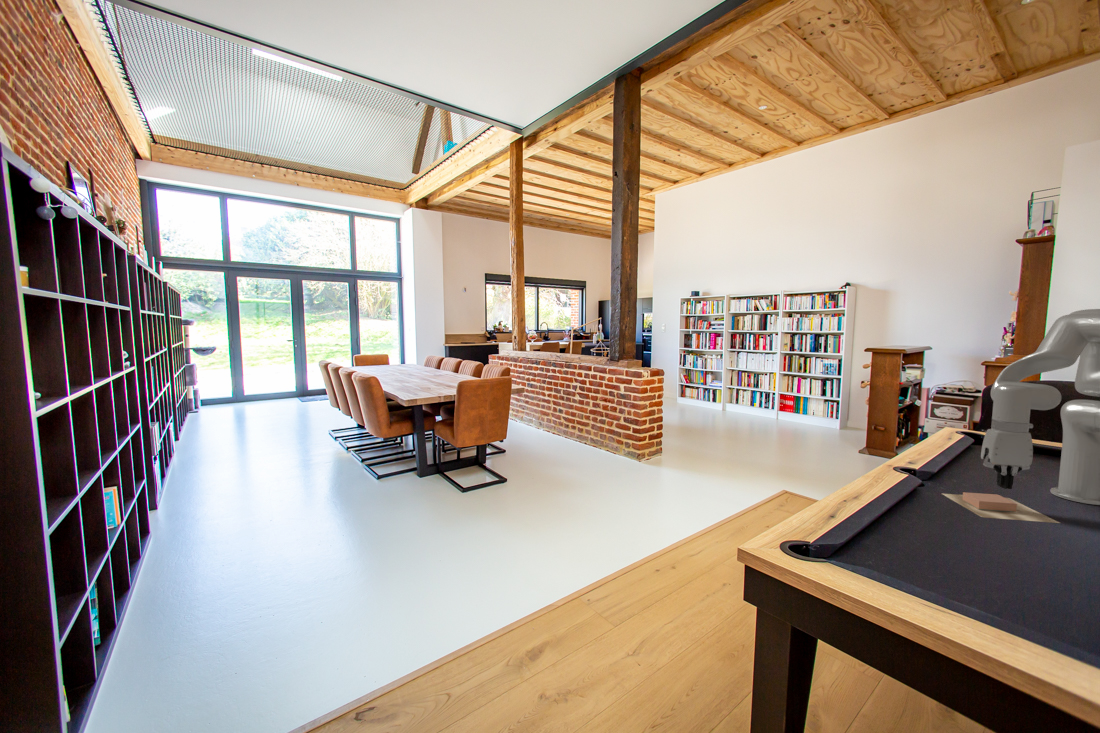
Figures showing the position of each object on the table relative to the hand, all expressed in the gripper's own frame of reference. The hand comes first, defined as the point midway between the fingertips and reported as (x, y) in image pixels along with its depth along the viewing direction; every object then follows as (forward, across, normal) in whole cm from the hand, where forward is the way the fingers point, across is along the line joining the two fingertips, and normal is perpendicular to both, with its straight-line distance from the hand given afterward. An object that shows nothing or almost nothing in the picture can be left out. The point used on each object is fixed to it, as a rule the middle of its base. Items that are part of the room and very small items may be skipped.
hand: (1004, 487), depth 128 cm
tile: (+5, -1, 0) cm, 5 cm away
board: (+7, +2, 0) cm, 7 cm away
